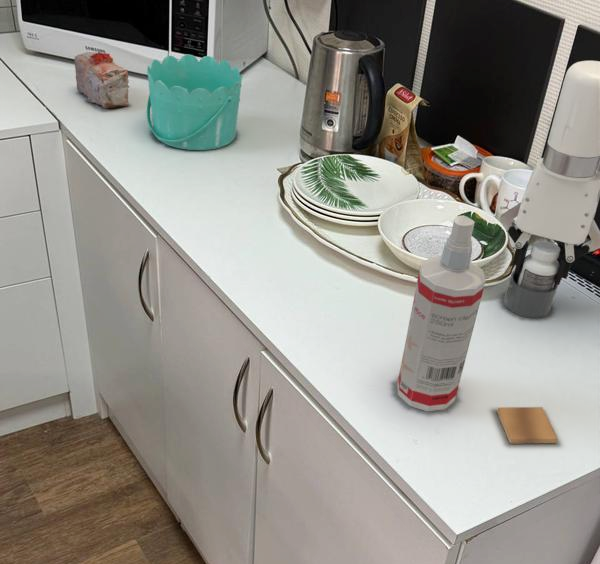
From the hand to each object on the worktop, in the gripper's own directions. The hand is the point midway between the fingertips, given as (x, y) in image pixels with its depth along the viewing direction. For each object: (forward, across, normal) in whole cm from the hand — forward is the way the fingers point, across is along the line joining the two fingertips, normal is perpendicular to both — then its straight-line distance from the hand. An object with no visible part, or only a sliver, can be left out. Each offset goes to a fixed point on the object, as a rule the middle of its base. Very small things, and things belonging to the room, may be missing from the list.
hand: (538, 273), depth 121 cm
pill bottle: (+5, 0, 0) cm, 5 cm away
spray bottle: (+6, +8, +29) cm, 30 cm away
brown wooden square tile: (+6, -6, +29) cm, 30 cm away
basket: (+5, +76, -28) cm, 81 cm away
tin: (+6, 0, 0) cm, 6 cm away
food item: (+5, +102, -32) cm, 107 cm away
